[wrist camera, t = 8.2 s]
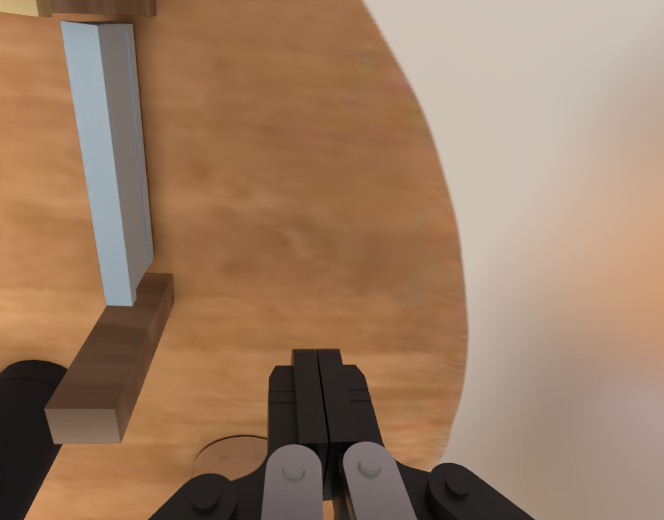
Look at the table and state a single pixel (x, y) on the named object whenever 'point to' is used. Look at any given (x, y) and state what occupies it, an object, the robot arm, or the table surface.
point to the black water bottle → (25, 433)
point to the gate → (111, 150)
